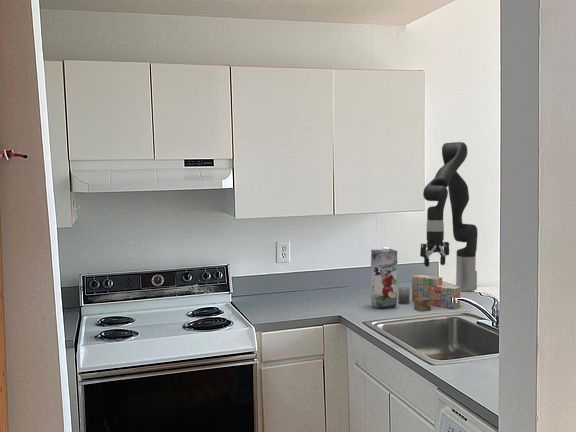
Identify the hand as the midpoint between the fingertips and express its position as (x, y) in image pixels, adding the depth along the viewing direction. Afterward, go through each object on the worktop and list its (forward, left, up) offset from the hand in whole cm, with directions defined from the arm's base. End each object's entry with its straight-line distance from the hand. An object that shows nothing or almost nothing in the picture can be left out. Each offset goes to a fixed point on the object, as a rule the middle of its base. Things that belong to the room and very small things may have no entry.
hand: (434, 265), depth 271 cm
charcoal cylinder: (+11, -8, -18) cm, 22 cm away
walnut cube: (+11, +6, -18) cm, 22 cm away
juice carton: (+23, -6, -18) cm, 30 cm away
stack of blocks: (0, 0, -18) cm, 18 cm away
